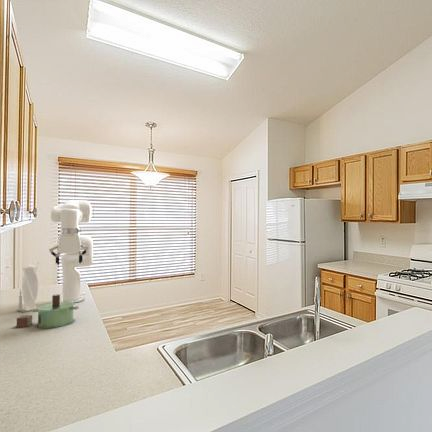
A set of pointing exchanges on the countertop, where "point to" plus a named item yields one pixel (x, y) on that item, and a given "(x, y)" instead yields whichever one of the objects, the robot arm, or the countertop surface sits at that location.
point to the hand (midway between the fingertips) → (69, 263)
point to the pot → (55, 317)
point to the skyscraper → (29, 288)
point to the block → (24, 321)
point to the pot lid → (55, 304)
